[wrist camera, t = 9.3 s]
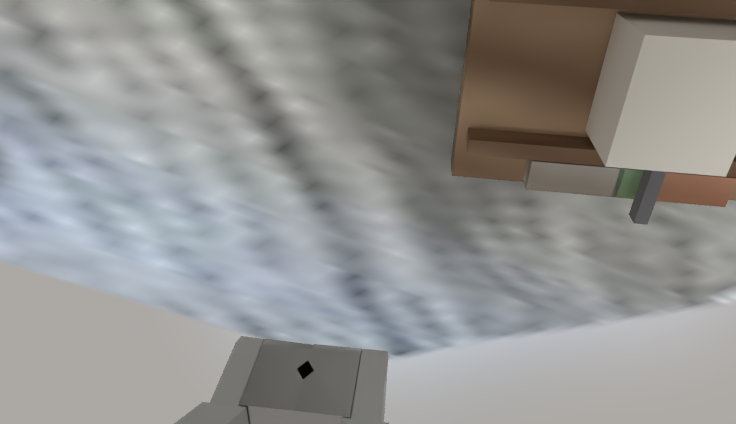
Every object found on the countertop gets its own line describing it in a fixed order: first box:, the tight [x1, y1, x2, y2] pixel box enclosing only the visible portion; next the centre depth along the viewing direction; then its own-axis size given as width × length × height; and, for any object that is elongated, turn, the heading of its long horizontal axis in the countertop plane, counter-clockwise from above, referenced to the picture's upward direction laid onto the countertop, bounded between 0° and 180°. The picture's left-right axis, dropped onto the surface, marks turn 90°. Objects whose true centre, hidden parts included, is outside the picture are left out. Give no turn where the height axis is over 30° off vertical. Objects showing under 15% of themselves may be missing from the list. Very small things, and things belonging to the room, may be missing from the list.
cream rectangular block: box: [585, 13, 736, 224], centre depth 24 cm, size 9×5×4 cm, turn 177°
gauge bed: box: [451, 0, 736, 207], centre depth 24 cm, size 12×17×6 cm
